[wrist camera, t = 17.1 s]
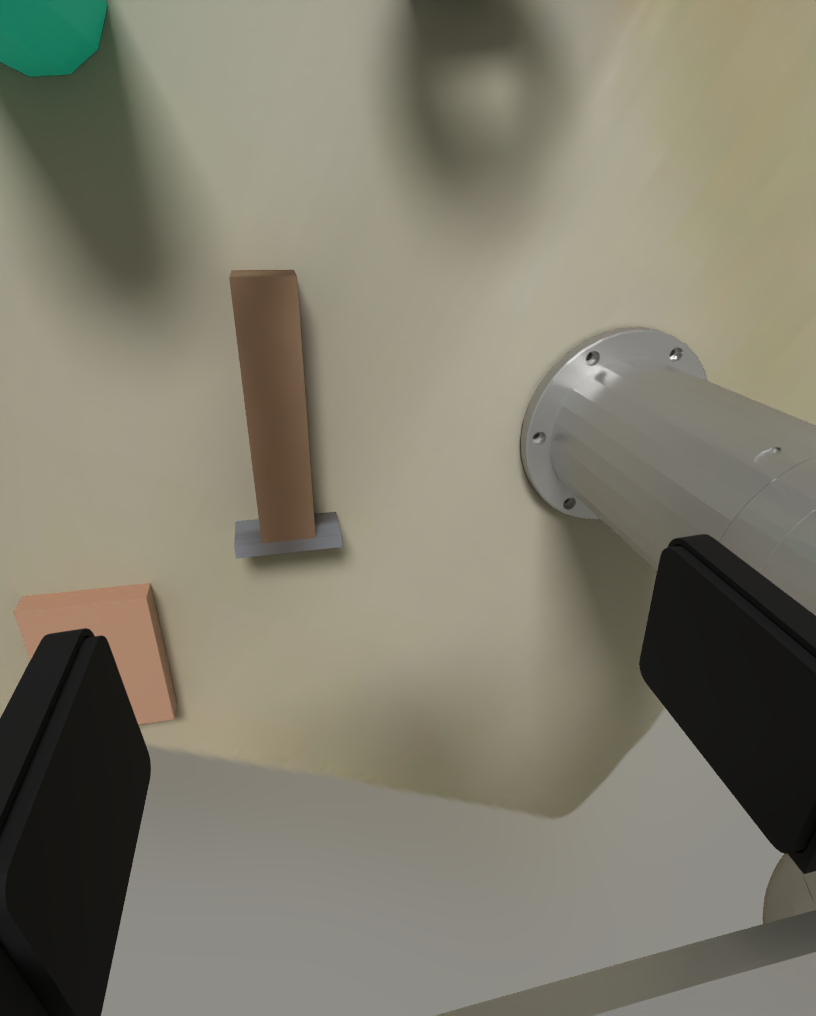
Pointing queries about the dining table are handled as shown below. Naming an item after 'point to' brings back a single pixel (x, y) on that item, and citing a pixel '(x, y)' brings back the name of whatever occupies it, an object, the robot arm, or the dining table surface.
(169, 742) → the dining table surface
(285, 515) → the tall wooden post
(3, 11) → the candle
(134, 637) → the tile
